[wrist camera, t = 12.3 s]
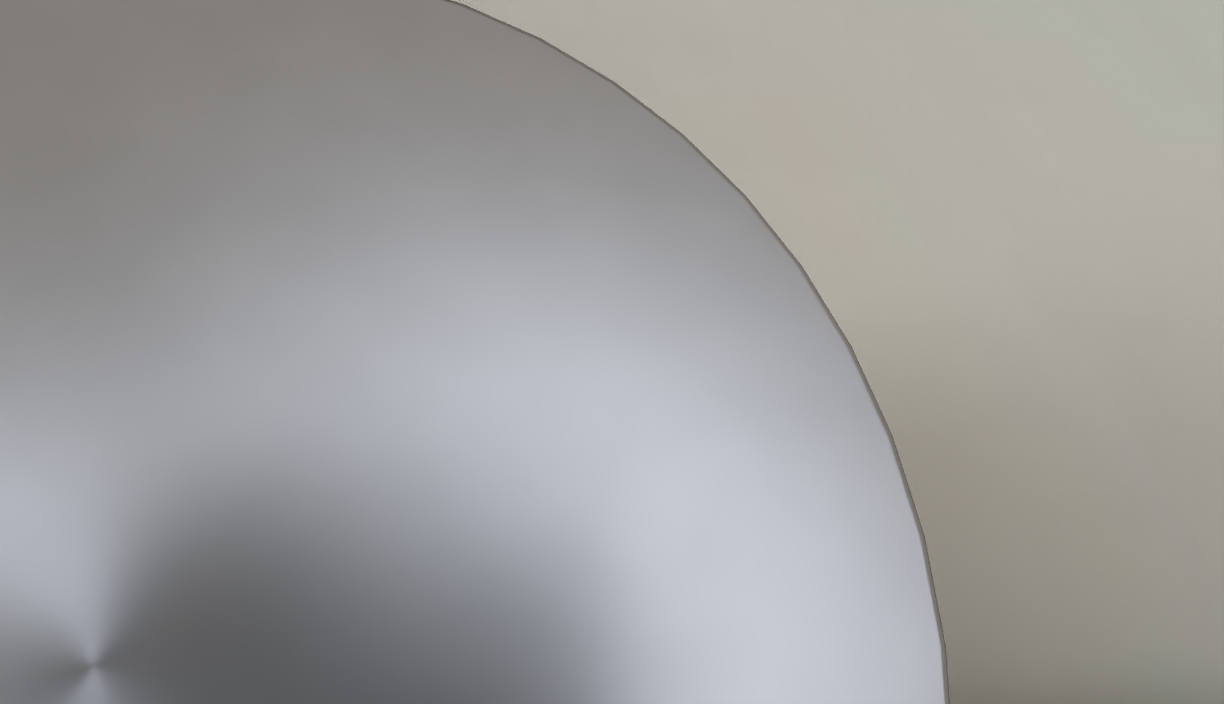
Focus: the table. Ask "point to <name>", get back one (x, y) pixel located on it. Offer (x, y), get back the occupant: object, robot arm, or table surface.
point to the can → (415, 383)
